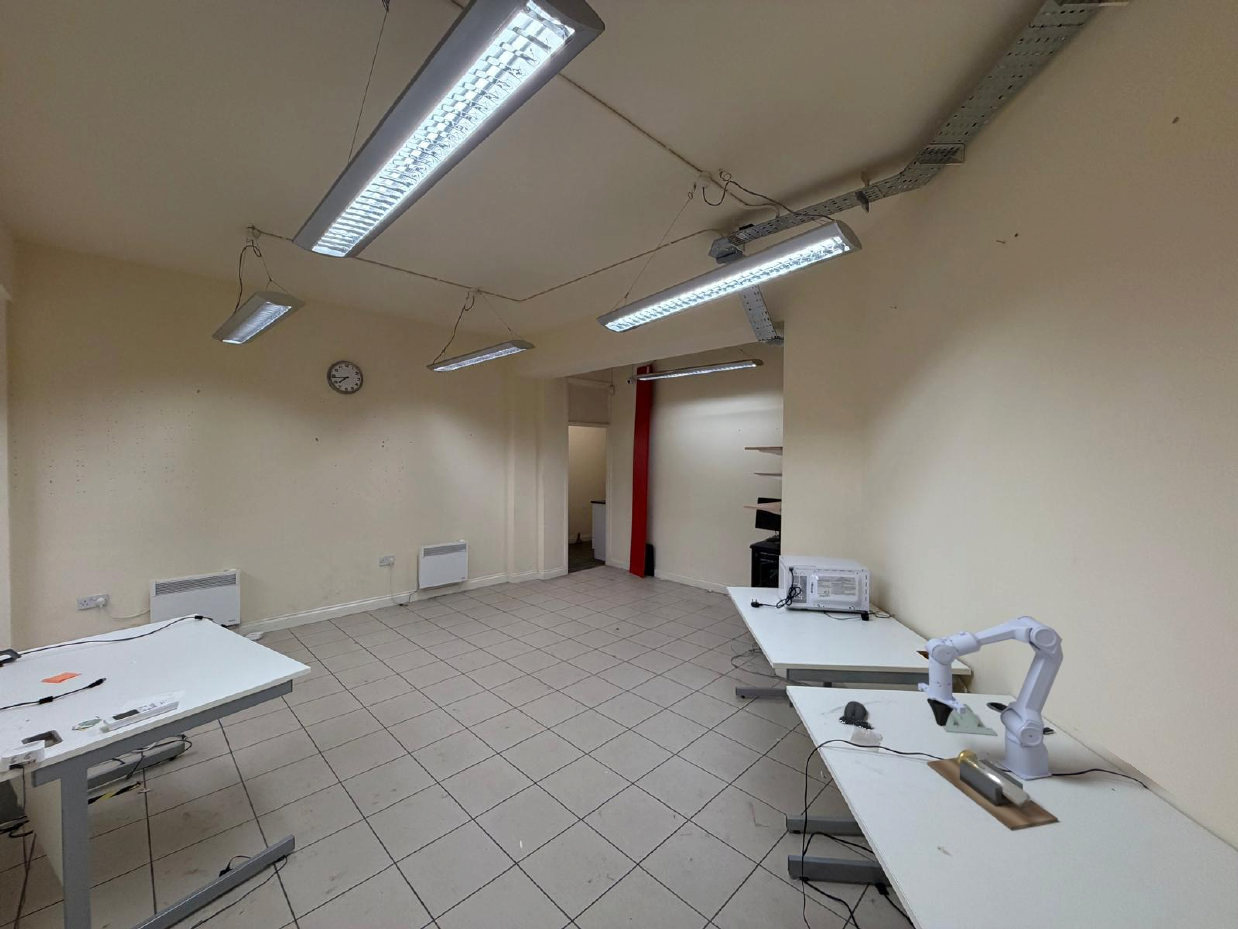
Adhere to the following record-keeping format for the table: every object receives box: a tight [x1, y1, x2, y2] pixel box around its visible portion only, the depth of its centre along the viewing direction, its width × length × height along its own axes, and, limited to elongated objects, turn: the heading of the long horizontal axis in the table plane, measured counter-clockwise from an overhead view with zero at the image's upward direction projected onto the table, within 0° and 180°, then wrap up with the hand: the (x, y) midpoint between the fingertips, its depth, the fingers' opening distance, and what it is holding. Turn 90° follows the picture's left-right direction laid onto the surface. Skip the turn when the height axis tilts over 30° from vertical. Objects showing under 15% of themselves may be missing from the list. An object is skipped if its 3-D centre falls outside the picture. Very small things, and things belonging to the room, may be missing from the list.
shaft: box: [956, 749, 1031, 808], centre depth 119 cm, size 6×16×6 cm, turn 10°
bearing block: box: [959, 758, 1024, 807], centre depth 120 cm, size 9×10×5 cm
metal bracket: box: [942, 703, 997, 737], centre depth 152 cm, size 14×6×15 cm
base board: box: [926, 756, 1059, 831], centre depth 121 cm, size 14×24×1 cm, turn 10°
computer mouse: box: [838, 700, 873, 730], centre depth 157 cm, size 10×15×4 cm
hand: (941, 724), depth 135 cm, fingers closed
